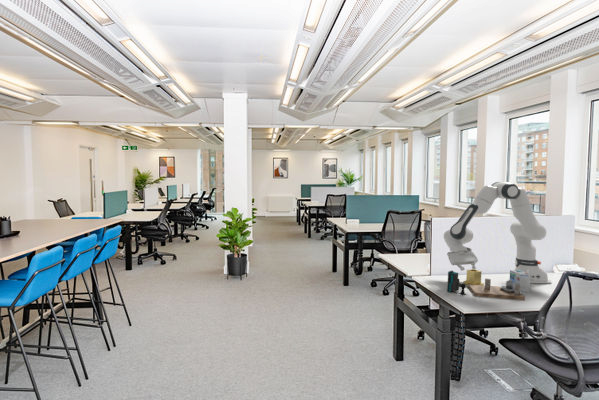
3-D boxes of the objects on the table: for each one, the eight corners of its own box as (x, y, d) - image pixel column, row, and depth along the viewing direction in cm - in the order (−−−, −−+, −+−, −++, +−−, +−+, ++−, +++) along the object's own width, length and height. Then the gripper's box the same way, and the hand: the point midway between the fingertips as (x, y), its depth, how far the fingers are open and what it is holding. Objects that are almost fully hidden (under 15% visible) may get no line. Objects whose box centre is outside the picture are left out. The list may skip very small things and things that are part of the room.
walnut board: (513, 290, 230) (514, 277, 230) (524, 300, 213) (525, 286, 212) (467, 287, 236) (468, 274, 235) (475, 296, 218) (475, 282, 218)
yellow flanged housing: (473, 281, 249) (474, 268, 249) (486, 286, 239) (487, 272, 239) (460, 282, 246) (461, 269, 245) (473, 287, 236) (474, 273, 235)
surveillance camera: (464, 275, 217) (447, 271, 225) (463, 295, 218) (446, 291, 225) (468, 273, 221) (452, 270, 229) (467, 294, 222) (451, 290, 229)
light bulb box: (508, 286, 240) (509, 269, 240) (518, 286, 241) (519, 269, 240) (519, 291, 230) (520, 273, 229) (530, 291, 230) (531, 274, 229)
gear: (515, 289, 227) (516, 278, 227) (521, 293, 218) (522, 282, 218) (497, 287, 229) (498, 277, 229) (502, 292, 220) (503, 281, 220)
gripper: (448, 249, 249) (458, 267, 240) (473, 248, 256) (483, 266, 247) (443, 254, 253) (453, 273, 245) (467, 253, 260) (478, 271, 252)
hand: (468, 269), depth 246 cm, fingers open, 8 cm apart
